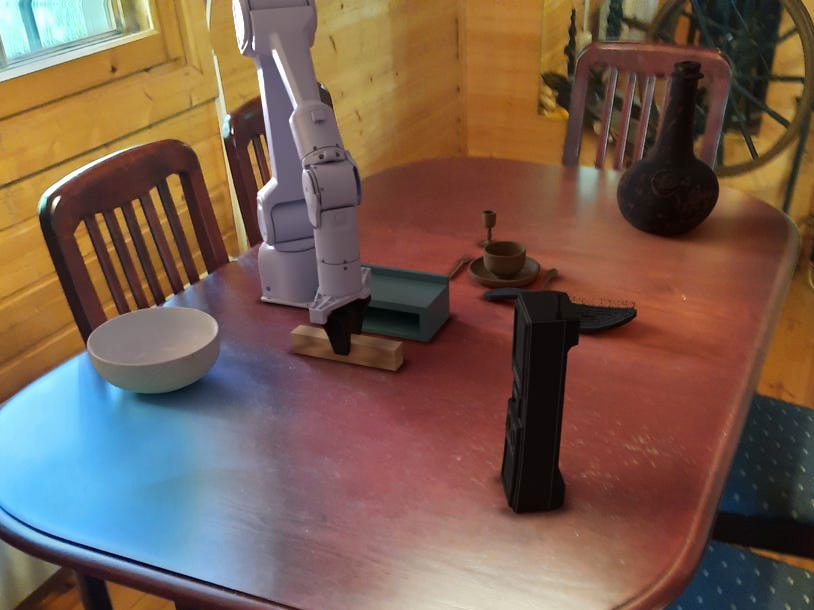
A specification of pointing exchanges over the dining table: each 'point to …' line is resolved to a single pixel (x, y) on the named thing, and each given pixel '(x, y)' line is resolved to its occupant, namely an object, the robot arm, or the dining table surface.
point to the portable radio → (537, 400)
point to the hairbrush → (580, 311)
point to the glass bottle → (671, 168)
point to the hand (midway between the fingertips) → (346, 348)
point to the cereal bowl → (155, 349)
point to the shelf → (406, 303)
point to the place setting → (503, 262)
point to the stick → (361, 348)
